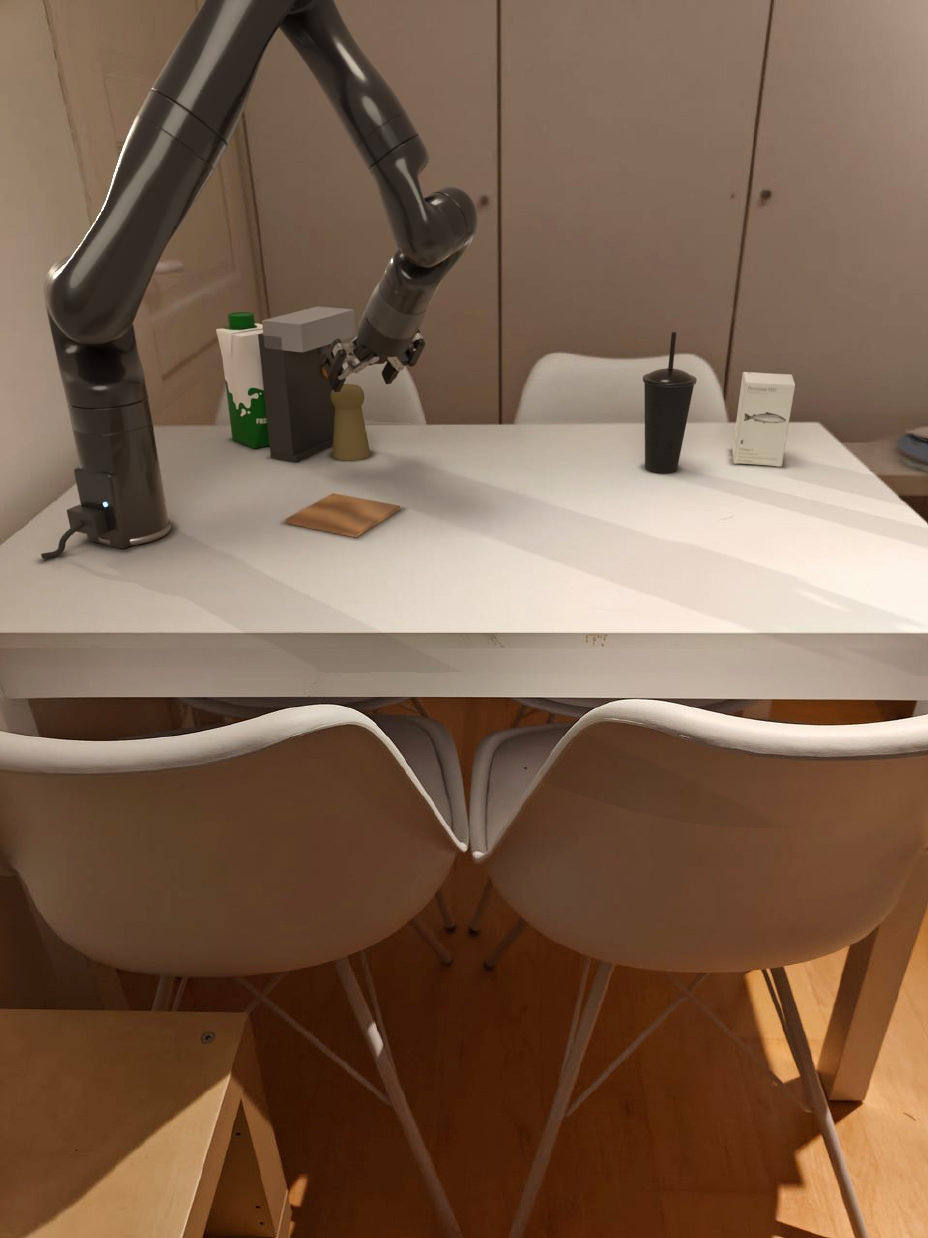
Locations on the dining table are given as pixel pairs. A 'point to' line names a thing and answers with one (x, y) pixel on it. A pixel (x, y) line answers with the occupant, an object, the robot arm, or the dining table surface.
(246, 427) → the milk carton
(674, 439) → the drinking cup
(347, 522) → the coaster
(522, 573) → the dining table surface
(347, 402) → the pepper shaker
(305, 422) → the coffee machine
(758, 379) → the white packaging box
